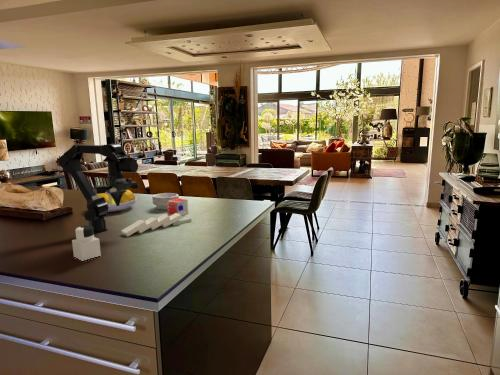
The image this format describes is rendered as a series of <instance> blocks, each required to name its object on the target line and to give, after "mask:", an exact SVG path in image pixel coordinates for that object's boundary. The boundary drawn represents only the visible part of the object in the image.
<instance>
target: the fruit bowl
mask: <svg viewBox="0 0 500 375" xmlns="http://www.w3.org/2000/svg"><path fill="white" fill-rule="evenodd" d="M114 188H115V187H114ZM126 191H127V192H124V194H123V195H122V198H121V201H120V205H119V206H116V204H115V202H114V200H113V198H112V196H111V195H109V194H108V193H106V192H105V193H101V194H96V195H97V196H98V197H100V198H101V197H104V198H105V201H106V202H107V203H108V204H107V205H108V207H109V209H108V212H107V213H113V212H114V213H115V212H120V211H126V210H127V209H128V208H130V207H132V206H134V205H135V204H136V201H137V196H136V195H135V193H133V192H132V191H131V190H130V189H127V190H126Z"/></svg>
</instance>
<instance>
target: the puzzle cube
mask: <svg viewBox="0 0 500 375" xmlns="http://www.w3.org/2000/svg"><path fill="white" fill-rule="evenodd" d="M188 202H189V201H188V199H185V198H179V199H178V198H176V199H173V200H169V201H167V210H166V211H167V215H168V216H171V215H173V214H175V213H178V214H180V215H181V217H183V216H185V215H188V214H189V204H188Z"/></svg>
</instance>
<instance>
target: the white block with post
mask: <svg viewBox="0 0 500 375" xmlns="http://www.w3.org/2000/svg"><path fill="white" fill-rule="evenodd" d="M74 233H75V239H72V240H71V245H72V251H73V252H72V253H73V258H74V257H76V258H78V259H79V260H81V261H84V260H87V259H90V258H94V257H98V256H100V257H101V256H102V253H101V244H100V243H101V242H100V238H98V237H96V236H95V233H94V230H93V227H92V226H89V224H87V225H81V226H78V227H76V228H75V232H74ZM76 258H75V259H76ZM98 258H99V257H98ZM94 259H95V258H94ZM79 260H78V261H79ZM81 261H80V262H81Z"/></svg>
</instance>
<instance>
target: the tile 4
mask: <svg viewBox="0 0 500 375" xmlns="http://www.w3.org/2000/svg"><path fill="white" fill-rule="evenodd" d="M168 216H169V217H170V220H169V221H167V222H165V223H164V224H162V225H160V226H159V227H163V228H166V227H169V226H170V225H172V223H174V222H176V221H178V220H180V219H182V218H183V216H181V215H180V214H178V213H175V214H173V215H168Z"/></svg>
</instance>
